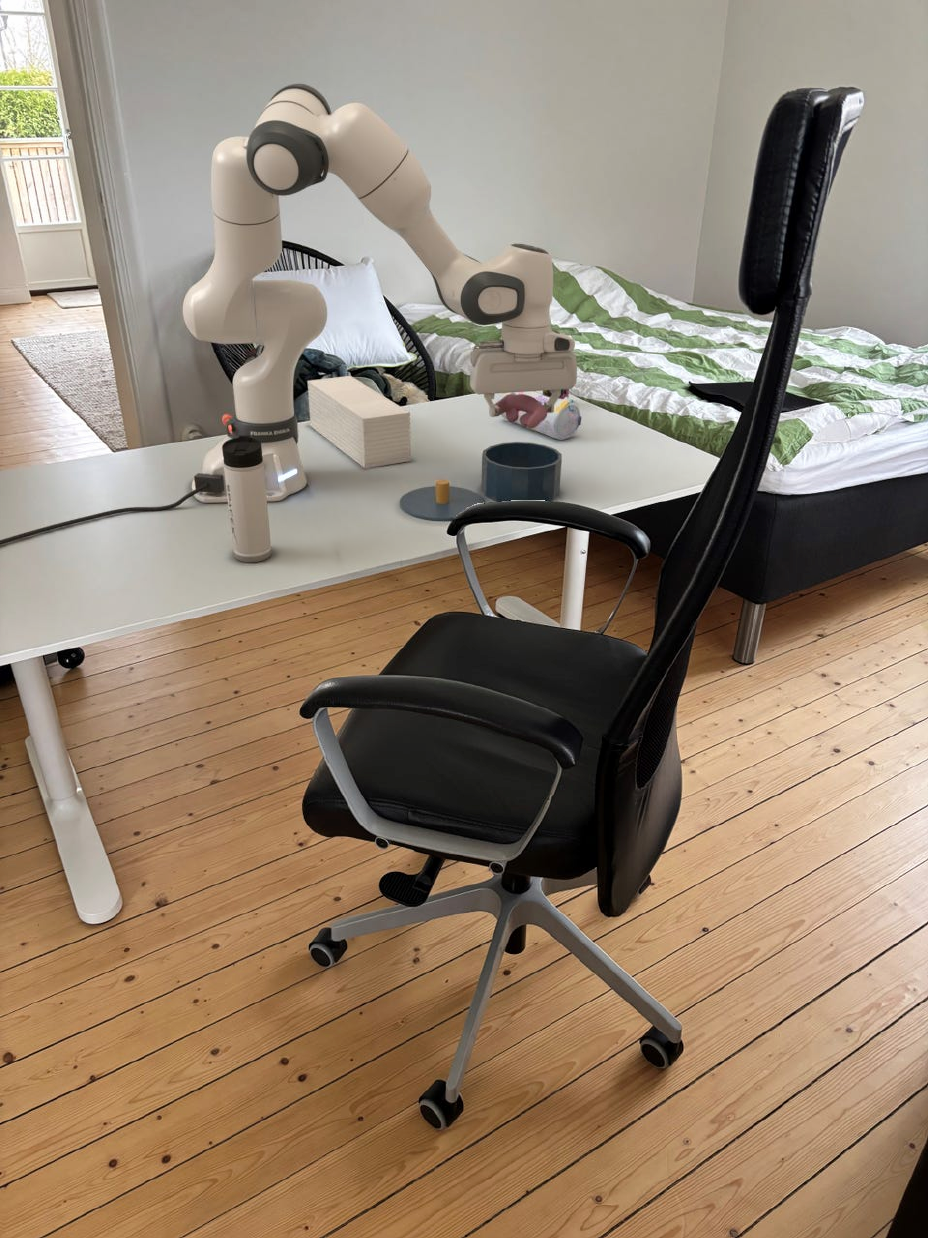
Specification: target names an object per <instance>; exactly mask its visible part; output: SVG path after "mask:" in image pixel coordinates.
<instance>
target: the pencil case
mask: <svg viewBox="0 0 928 1238" xmlns="http://www.w3.org/2000/svg"><path fill="white" fill-rule="evenodd" d="M511 393H515V394H516V395H519V394H525V395H528V396H531V397H533V398H535V399H536V400H537V401H541V402H542V404H543V405H544V402H548V400H549V398H550V397H547V396H544V395H542V394H543V393H541V392H539V391H528V392H511ZM511 393H499V397H498V400H497V402H498V401H500V400H501V399H502V398H503V397H505V396H506V395H510V394H511ZM518 414H519V418H518V420H517V421H515V422H513V423H515V424H517V425H520V426H522V425H521V423H520V417H521V416H522V415H523V414H526V412H523V411H519V412H518ZM500 416H501V417H502V418H503V419H505V420H507V417H506V412H505V413H503V414H501V415H500ZM581 425H582V416H581V412H580V408H579V406H578V404H577V402H576V401H575V399H570V398H568V397H565V398H564V399H559V398H558V400H557V401H556V403H555V404H554V412H553V413H547V417H546V418H545V419H544V420H543V421H541V423H540V424H539V425H538V426H536V427H535V428H532V429H530V428H528V427H526V428H527V429H529V430H532V431H534V432H537V433H540V434H542V435H545V436H547V437H550V438H552V439H555V440H557V441H558V440H559V441H563V440H568V439H570V438H572V437H573V436H574V435H575V434H576V433H577V431H578V430H579V427H580V426H581Z"/></svg>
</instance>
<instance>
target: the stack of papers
mask: <svg viewBox="0 0 928 1238" xmlns="http://www.w3.org/2000/svg"><path fill="white" fill-rule="evenodd" d="M307 389H308V390H307V393H308V394H307V395H308V409H309V411H308V412H309V426H310V427H311V428H312V429H314V431H316V432H317V433H318V434H320V435H321V436H323V437H324V438H325V439H326V440H327V441H329V442H330V443H331V444H333V445H334V446H335V447H337V448H338V449H339V450H340V451H342V452H343V453H344V454H346V455H347V456H348V457H349V458H350V459H352V460H353V461H355V462H356V463H357V464H358V465H360V466H361V467H362V468H364V469H371V468H377V467H382V466H383V467H384V466H388V465H389V466H390V465H395V464H400V463H407V462H411V422H410V421H411V412H410V411H408V410H407V409H405V408H404V407H402V406H401V405H399V404H397V403H395V402H394V401H392V400H391V399H389V398H387V397H386V396H384V395H382V394H381V393H379V392H378V391H376V390H374V389H372V388H371V387H369V386H368V385H366V384H365V383H363V382H361V381H360V380H358V379H356V378H355V377H353V376H351V375H347V376H346V375H345V376H338V377H329V378H320V379H319V378H318V379H311V380H307Z"/></svg>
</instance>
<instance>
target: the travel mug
mask: <svg viewBox="0 0 928 1238" xmlns="http://www.w3.org/2000/svg"><path fill="white" fill-rule="evenodd" d="M222 451H223V458H224V459H223V460H224V472H225V481H226V489H227V498H228V502H227V506H228V515H229V524H230V531H231V532H230V534H231V541H232V550H233V557H234V559H236V560H237V561H239V562H242V563H250V564H251V563H259V562H262V561H265V560H267V559H269V558H270V557H271V555H272V543H271V542H272V541H271V532H270V531H271V530H270V523H269V522H270V519H269V508H268V501H267V497H266V486H265V475H264V465H263V457H262V447H261V442H260V441H259V440H257V439H255V438H250V435H240V436H239V438H233V439H230V440H228V441H226V442H225V443H224V444H223V445H222Z"/></svg>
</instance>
